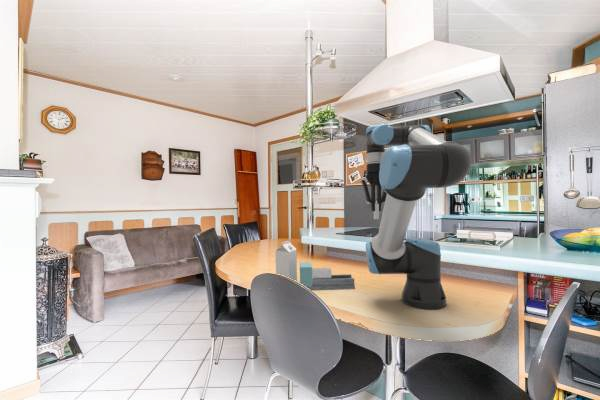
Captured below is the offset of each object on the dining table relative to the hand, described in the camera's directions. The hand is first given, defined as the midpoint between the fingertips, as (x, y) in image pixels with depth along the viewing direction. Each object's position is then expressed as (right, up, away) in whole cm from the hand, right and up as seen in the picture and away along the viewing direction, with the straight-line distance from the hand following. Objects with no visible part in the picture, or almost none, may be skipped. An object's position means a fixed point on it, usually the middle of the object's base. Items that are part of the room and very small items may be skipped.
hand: (376, 218), depth 127 cm
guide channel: (-21, -30, +3) cm, 37 cm away
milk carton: (-39, -30, +10) cm, 50 cm away
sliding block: (-25, -28, +3) cm, 38 cm away
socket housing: (-30, -28, +3) cm, 41 cm away
